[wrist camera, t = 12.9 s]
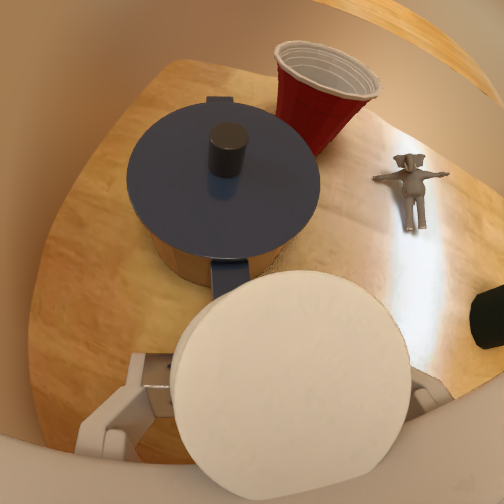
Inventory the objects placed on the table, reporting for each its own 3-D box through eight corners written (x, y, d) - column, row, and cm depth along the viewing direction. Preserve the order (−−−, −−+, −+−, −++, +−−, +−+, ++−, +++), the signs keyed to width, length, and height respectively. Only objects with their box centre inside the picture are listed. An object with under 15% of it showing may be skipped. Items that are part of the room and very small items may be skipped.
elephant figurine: (372, 230, 30) (366, 152, 30) (379, 232, 35) (374, 165, 35) (457, 228, 25) (448, 146, 25) (451, 231, 30) (444, 161, 30)
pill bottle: (288, 313, 17) (407, 238, 7) (299, 413, 15) (432, 471, 4) (182, 320, 16) (139, 246, 5) (191, 425, 14) (171, 536, 3)
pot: (151, 320, 23) (126, 302, 16) (157, 151, 30) (149, 92, 22) (295, 312, 26) (334, 290, 18) (270, 150, 32) (289, 94, 24)
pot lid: (121, 269, 17) (101, 244, 13) (141, 113, 21) (135, 76, 18) (331, 260, 19) (360, 236, 15) (297, 115, 24) (310, 81, 20)
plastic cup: (331, 117, 36) (365, 50, 25) (347, 181, 32) (398, 110, 21) (252, 105, 34) (270, 27, 23) (254, 170, 30) (280, 82, 19)
